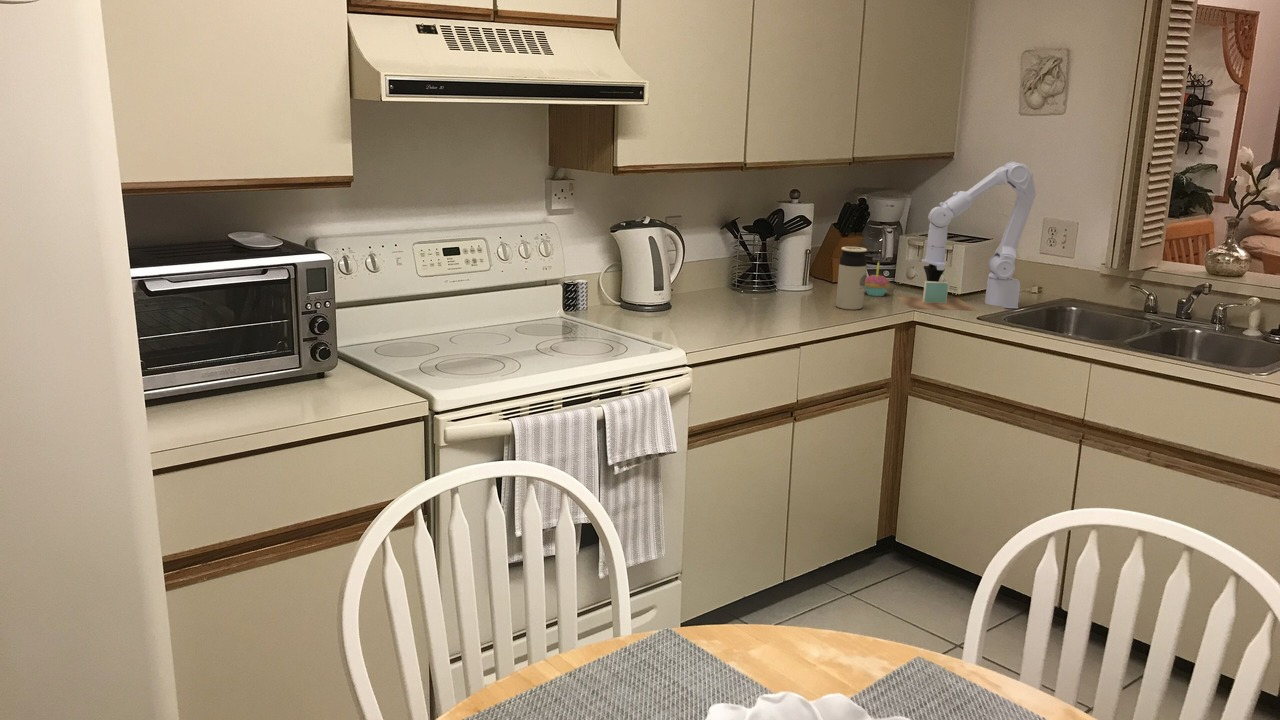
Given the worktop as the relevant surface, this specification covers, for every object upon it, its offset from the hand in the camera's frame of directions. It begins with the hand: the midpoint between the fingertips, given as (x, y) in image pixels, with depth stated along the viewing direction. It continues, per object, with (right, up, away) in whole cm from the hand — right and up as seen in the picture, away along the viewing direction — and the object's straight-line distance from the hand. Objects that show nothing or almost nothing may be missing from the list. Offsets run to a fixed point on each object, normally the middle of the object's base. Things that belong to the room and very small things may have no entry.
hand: (931, 289), depth 317 cm
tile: (0, -4, -3) cm, 5 cm away
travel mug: (-28, -6, -10) cm, 31 cm away
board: (0, -5, -4) cm, 7 cm away
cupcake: (-16, -2, +7) cm, 18 cm away
